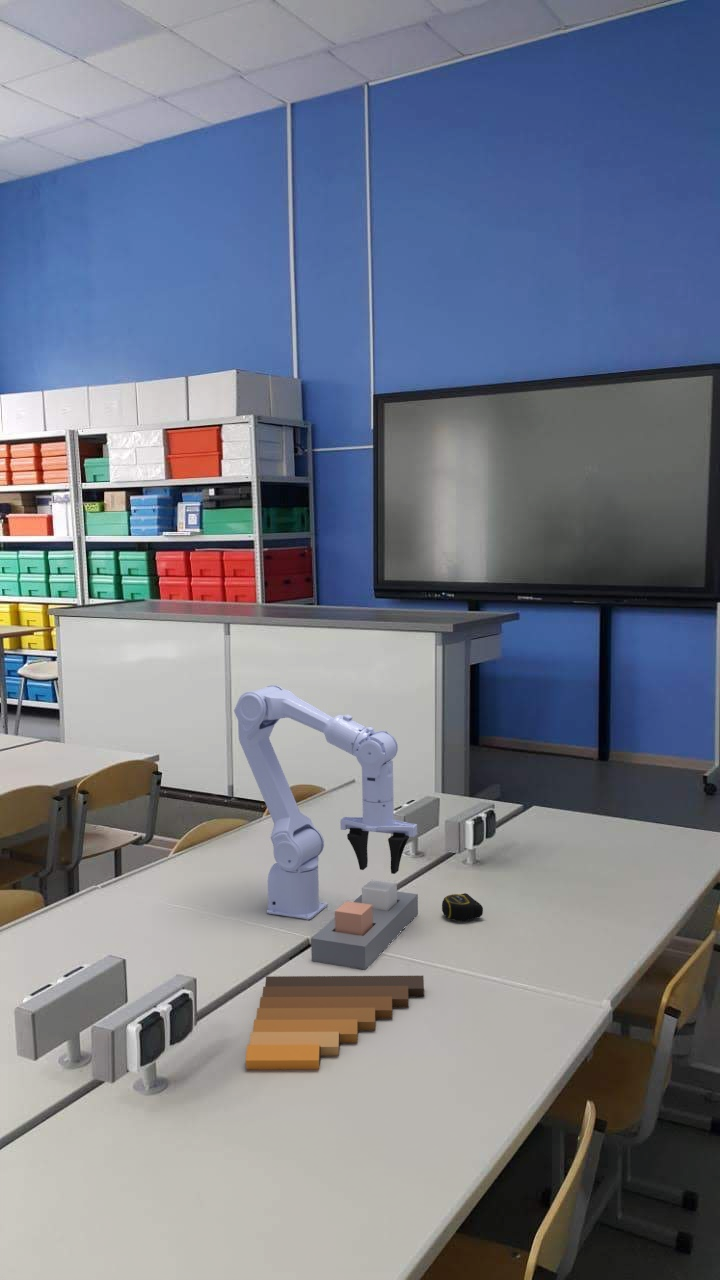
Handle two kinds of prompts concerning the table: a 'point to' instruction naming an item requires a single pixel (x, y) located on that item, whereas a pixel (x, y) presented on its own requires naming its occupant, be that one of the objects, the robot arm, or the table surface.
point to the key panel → (364, 948)
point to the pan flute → (321, 1016)
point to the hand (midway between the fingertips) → (379, 870)
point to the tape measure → (461, 907)
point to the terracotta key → (354, 918)
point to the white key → (380, 894)
